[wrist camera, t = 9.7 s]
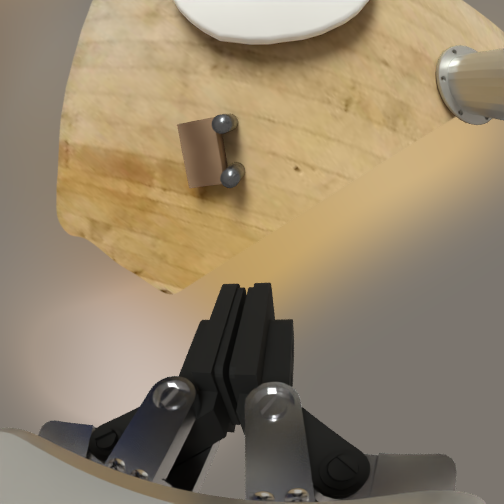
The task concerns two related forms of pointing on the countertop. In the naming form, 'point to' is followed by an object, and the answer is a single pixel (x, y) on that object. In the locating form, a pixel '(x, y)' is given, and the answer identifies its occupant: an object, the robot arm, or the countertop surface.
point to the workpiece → (202, 153)
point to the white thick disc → (268, 18)
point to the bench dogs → (236, 169)
